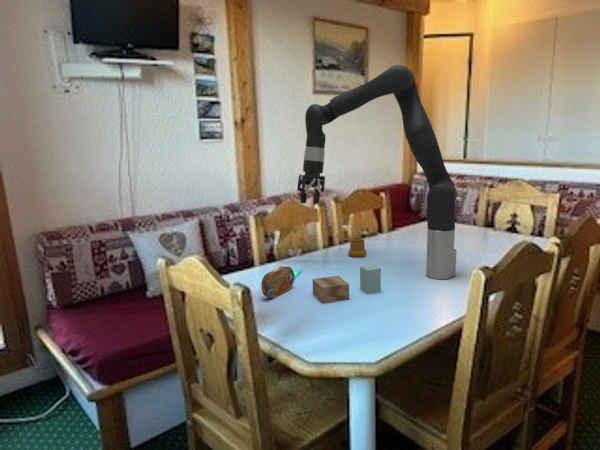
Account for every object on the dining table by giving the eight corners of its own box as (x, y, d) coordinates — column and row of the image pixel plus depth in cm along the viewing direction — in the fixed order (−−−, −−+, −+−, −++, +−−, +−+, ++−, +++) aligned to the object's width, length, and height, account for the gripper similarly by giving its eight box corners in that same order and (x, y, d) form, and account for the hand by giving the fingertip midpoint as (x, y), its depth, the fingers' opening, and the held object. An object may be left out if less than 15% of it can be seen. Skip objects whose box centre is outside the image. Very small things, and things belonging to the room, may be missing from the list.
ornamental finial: (365, 258, 192) (347, 257, 194) (367, 253, 199) (349, 252, 201) (365, 239, 190) (346, 238, 192) (367, 234, 197) (349, 234, 199)
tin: (268, 302, 149) (266, 276, 148) (260, 300, 151) (258, 275, 149) (295, 287, 162) (294, 263, 160) (287, 286, 163) (286, 262, 161)
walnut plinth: (338, 289, 158) (338, 275, 157) (349, 299, 149) (349, 284, 148) (312, 293, 155) (312, 279, 154) (322, 303, 147) (322, 287, 146)
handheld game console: (302, 272, 178) (302, 269, 178) (290, 286, 163) (290, 283, 163) (277, 271, 181) (277, 267, 181) (263, 285, 166) (263, 281, 166)
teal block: (373, 287, 159) (373, 264, 158) (380, 291, 155) (380, 268, 153) (360, 289, 158) (360, 266, 156) (366, 294, 153) (366, 270, 152)
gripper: (311, 159, 169) (306, 204, 171) (332, 161, 180) (328, 204, 182) (294, 158, 173) (290, 202, 175) (316, 160, 184) (312, 201, 187)
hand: (309, 203), depth 179 cm, fingers open, 8 cm apart
